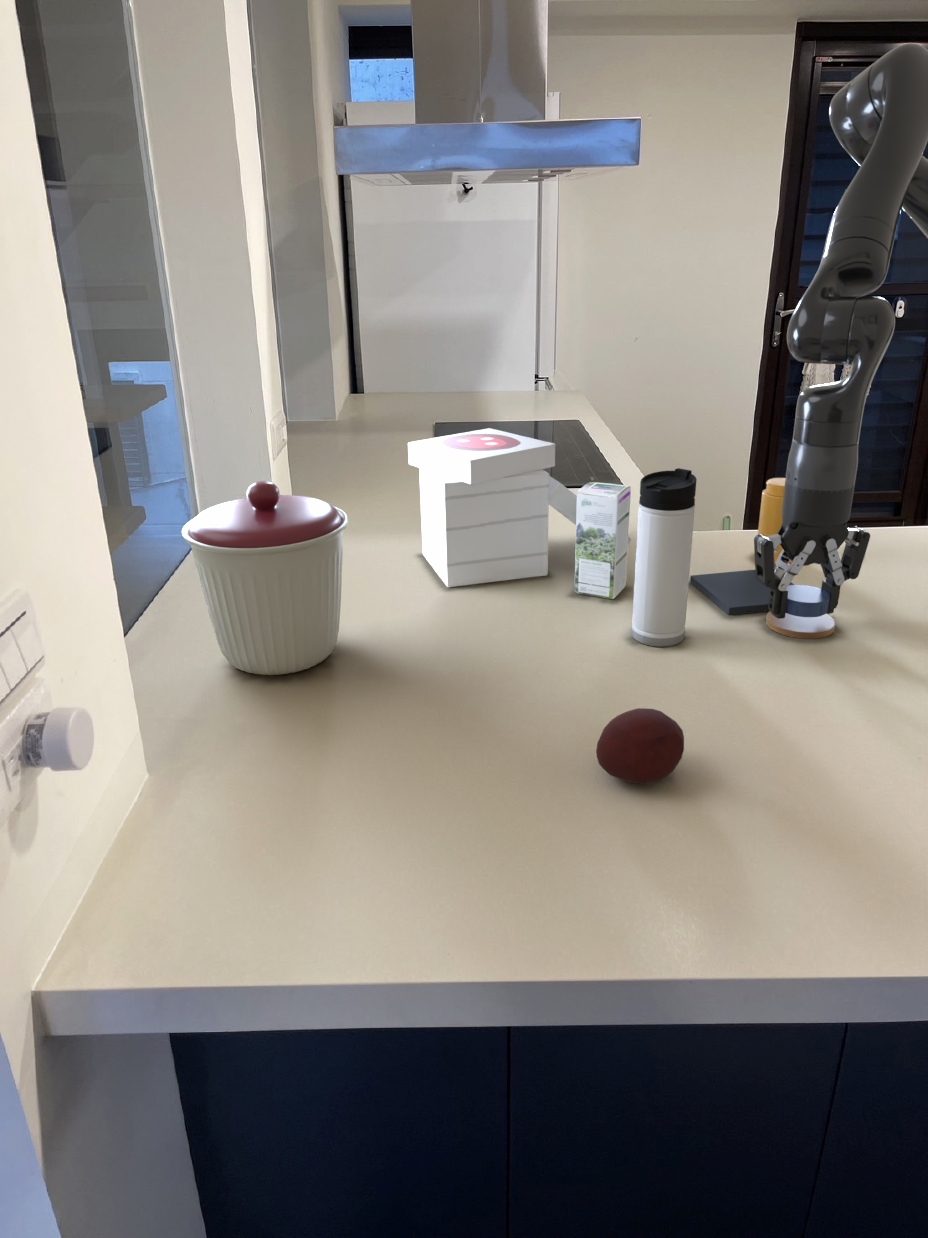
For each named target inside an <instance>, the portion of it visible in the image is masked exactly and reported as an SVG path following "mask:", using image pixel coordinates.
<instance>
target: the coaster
mask: <svg viewBox="0 0 928 1238" xmlns="http://www.w3.org/2000/svg"><path fill="white" fill-rule="evenodd" d="M765 624H766V626H767V627H768V628H769V629H770V630H772V631H773V632H775V633H777V634H780V635H783V636H787V637H791V638H795V639H806V640H809V639H810V640H812V639H822V638H825V637H828V636H831V635H832V634H833V633H834V632H835V630H836V629H835V628H836V621H835V619H834V618H833V617H832V616H830V615H828V614H825V615H822V616H819V617H799V616H794V615H790V614H787V613H785V618H780V619H778V618H776V617H775V616H774V615H772V613H771V611H768V612H767V614H766V617H765Z"/></svg>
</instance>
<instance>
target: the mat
mask: <svg viewBox="0 0 928 1238" xmlns="http://www.w3.org/2000/svg"><path fill="white" fill-rule="evenodd" d="M689 584H691V585H692V586H694V587H695V588H696V589H697V590H698V591H700V592H701V593H702V594H703V595H705V596H706V597H707V598H708V599H709V600H710V601H711V602H713V603H714V604H715V605H717V607H718V608H719V609H721V610H722V611H723V612H724V613H725V614H727V615H728V616H731V615H742V614H753V613H760V612H761V613H763V612H770V611H769V609H768V601H769V592H770V587H766V586H765V585H764V584H762V583H761V582H759V581H758V580H757V579H756V576H755V569H746V570H736V571H735V570H734V571H726V572H725V571H724V572H715V573H705V574H692V575H689ZM790 585H795V584H794V583H793V582H792V581H791V582H790V584H789V586H790Z"/></svg>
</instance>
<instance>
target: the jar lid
mask: <svg viewBox="0 0 928 1238" xmlns="http://www.w3.org/2000/svg"><path fill="white" fill-rule="evenodd" d="M786 590H788V597H787V605H786V613H787V614H790V615H794V616H799V617H819V616H822V615H825V614H826V613H827V612H828V608H829V599H830V595H829V594H828V593H827V592H826V591H824V590H822V589H821V587H816V586H812V585H804V584H794V585H790V586H788V588H787V589H786Z"/></svg>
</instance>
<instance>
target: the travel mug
mask: <svg viewBox="0 0 928 1238" xmlns="http://www.w3.org/2000/svg"><path fill="white" fill-rule="evenodd" d="M692 471H693V470H691V469H685V468H680V467H677V468H675V469H674V470H661V471H660V470H659V471H655V472H651V473H649V474H646V475H645V476H643V477H642V478H641V479H640V484H639V487H640V488H639V495H640V496H639V501H638V511H637V528H636V529H637V530H636V546H635V563H634V583H633V601H632V619H631V621H632V622H631V623H632V624H631V636H632V638H633V639H635V641H637V642H639V643H641V644H643V645H646V646H650V647H657V648H665V647H672V646H676V645H678V644H680V643H681V642H682V641H684V639H685V634H686V622H687V621H686V620H687V611H688V610H687V609H688V597H689V585H690V571H691V560H692V559H691V558H692V549H693V535H694V525H695V524H694V521H695V508H696V498H695V497H696V493H697V492H696V491H697V477H696V476H695V475H694V474H693V473H692Z"/></svg>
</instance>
